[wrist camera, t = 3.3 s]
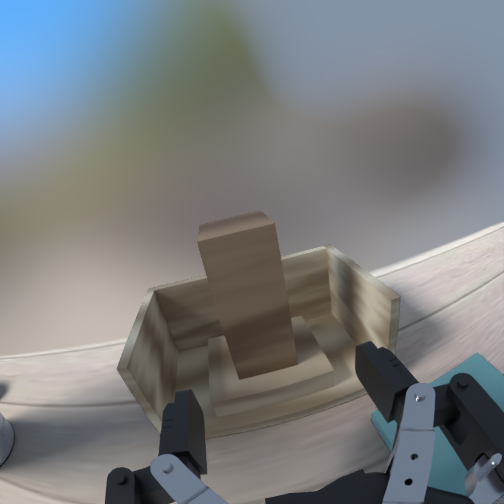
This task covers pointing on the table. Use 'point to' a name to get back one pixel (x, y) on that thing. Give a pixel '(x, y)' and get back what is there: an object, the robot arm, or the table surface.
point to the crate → (270, 384)
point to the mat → (444, 457)
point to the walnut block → (249, 292)
